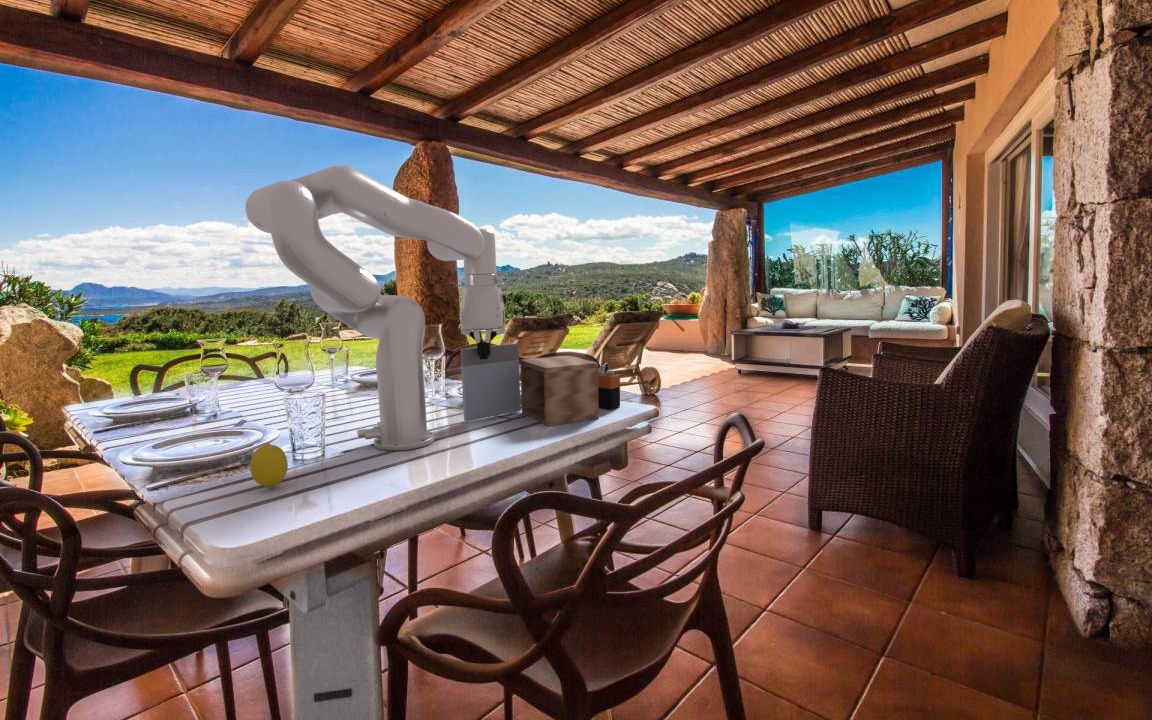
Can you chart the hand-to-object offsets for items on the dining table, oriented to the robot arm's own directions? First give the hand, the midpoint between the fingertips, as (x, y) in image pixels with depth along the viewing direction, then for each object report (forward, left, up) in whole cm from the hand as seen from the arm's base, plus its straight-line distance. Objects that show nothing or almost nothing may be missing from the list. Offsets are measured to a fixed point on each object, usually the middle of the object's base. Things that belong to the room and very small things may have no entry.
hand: (484, 358), depth 133 cm
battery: (+33, -2, -16) cm, 37 cm away
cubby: (+18, -4, -16) cm, 24 cm away
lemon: (-46, -24, -16) cm, 54 cm away
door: (+3, +3, -15) cm, 16 cm away
